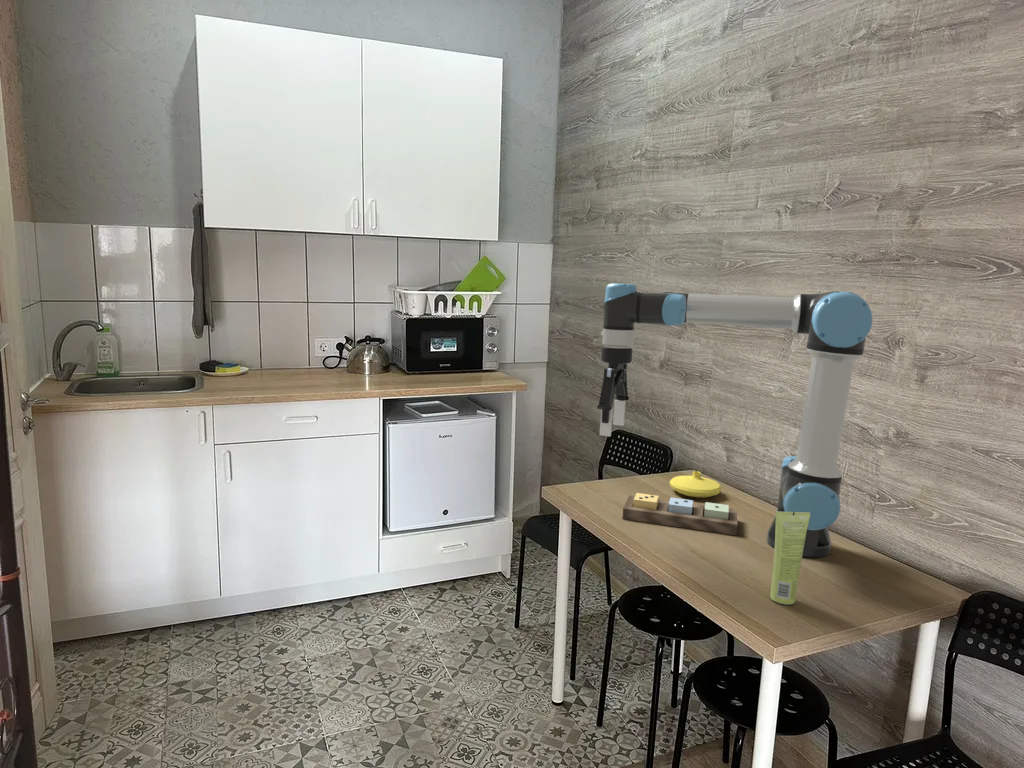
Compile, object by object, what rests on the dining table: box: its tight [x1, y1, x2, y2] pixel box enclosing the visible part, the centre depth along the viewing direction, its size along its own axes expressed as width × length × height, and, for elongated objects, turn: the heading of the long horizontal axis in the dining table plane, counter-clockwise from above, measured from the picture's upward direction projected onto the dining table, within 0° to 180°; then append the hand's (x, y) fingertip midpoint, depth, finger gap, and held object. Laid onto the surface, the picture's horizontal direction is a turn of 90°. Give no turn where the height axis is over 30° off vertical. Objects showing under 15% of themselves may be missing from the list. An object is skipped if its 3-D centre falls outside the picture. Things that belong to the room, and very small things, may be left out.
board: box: [622, 495, 739, 536], centre depth 190 cm, size 30×12×3 cm, turn 73°
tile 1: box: [704, 501, 730, 520], centre depth 187 cm, size 6×6×3 cm
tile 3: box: [633, 492, 659, 510], centre depth 193 cm, size 6×6×3 cm
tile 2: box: [668, 497, 694, 515], centre depth 190 cm, size 6×6×3 cm
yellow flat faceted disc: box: [669, 470, 722, 499], centre depth 214 cm, size 16×16×7 cm
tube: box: [769, 510, 810, 606], centre depth 144 cm, size 6×5×20 cm
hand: (612, 430), depth 173 cm, fingers open, 13 cm apart
